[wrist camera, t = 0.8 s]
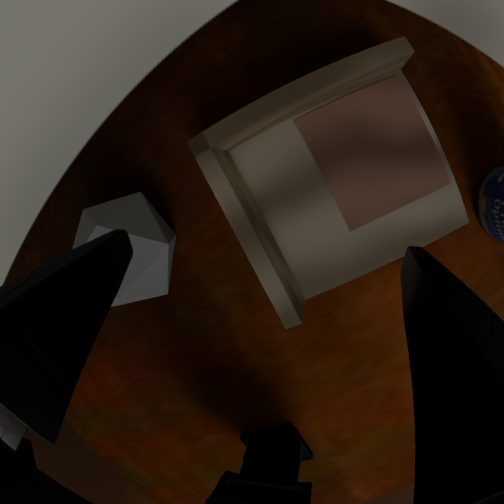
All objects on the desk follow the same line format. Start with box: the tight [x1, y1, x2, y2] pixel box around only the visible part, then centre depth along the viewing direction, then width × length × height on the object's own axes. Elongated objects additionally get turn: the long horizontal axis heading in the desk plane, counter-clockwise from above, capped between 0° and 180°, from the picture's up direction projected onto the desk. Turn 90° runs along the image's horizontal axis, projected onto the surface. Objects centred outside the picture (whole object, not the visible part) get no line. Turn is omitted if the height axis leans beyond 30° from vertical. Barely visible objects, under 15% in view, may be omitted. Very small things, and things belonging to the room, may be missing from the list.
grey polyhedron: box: [73, 192, 176, 307], centre depth 22 cm, size 8×9×10 cm
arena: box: [187, 36, 469, 329], centre depth 19 cm, size 14×16×4 cm
